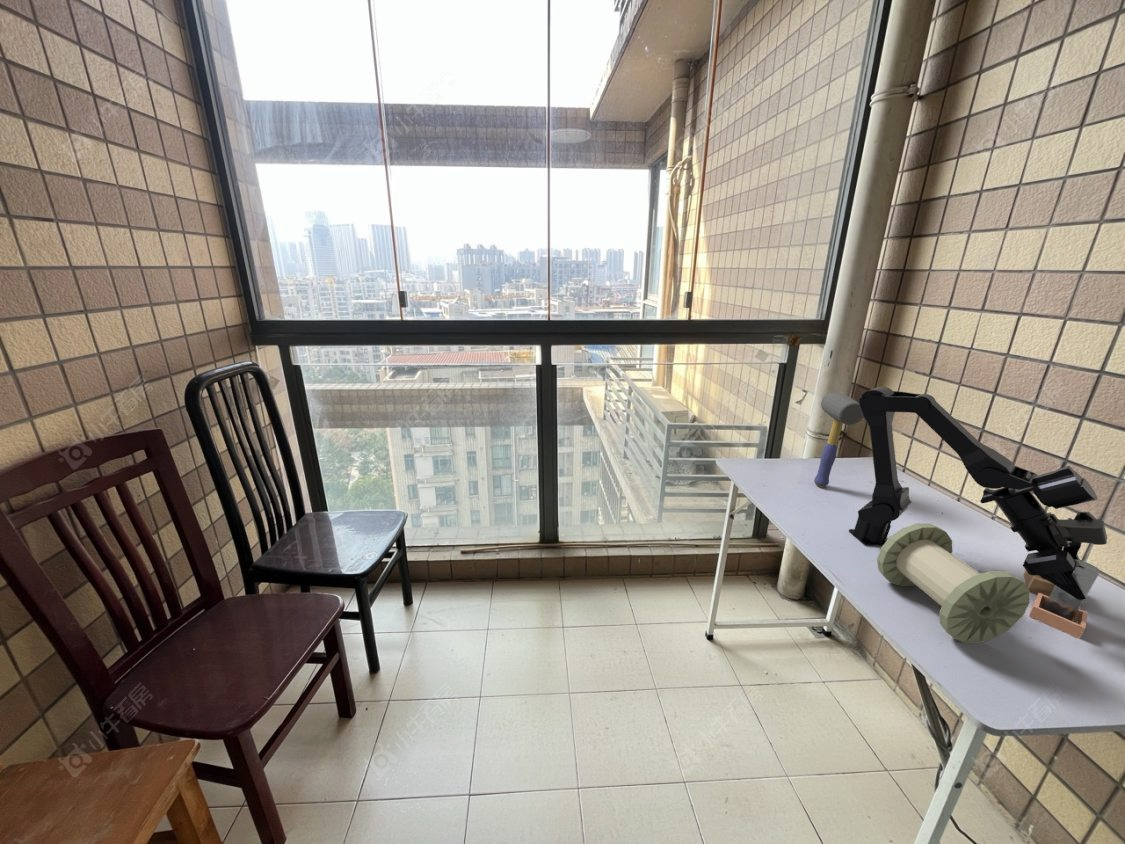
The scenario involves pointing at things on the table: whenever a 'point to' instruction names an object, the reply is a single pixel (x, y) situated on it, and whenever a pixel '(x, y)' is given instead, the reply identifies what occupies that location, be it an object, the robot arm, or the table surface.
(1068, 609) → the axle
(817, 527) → the table surface
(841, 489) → the table surface
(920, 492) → the table surface
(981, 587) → the spool
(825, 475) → the rubber mallet
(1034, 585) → the wooden square frame
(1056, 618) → the socket block
